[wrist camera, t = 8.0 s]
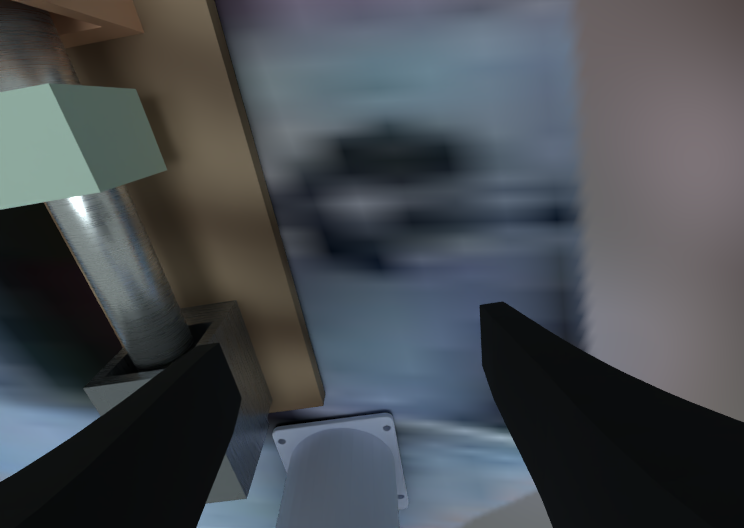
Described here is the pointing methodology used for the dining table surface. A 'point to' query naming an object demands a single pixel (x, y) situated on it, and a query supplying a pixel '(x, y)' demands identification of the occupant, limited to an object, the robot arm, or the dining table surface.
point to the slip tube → (86, 179)
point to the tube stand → (200, 210)
